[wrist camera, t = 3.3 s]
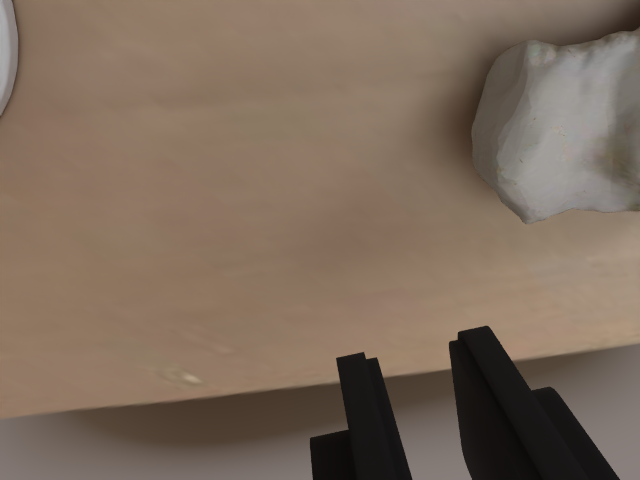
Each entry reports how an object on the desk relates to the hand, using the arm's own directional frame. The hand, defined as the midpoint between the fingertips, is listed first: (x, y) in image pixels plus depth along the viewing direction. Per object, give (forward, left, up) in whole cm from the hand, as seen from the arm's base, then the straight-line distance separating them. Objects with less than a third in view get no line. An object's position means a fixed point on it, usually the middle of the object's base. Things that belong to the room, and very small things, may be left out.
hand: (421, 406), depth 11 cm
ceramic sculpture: (+13, 0, -17) cm, 21 cm away
